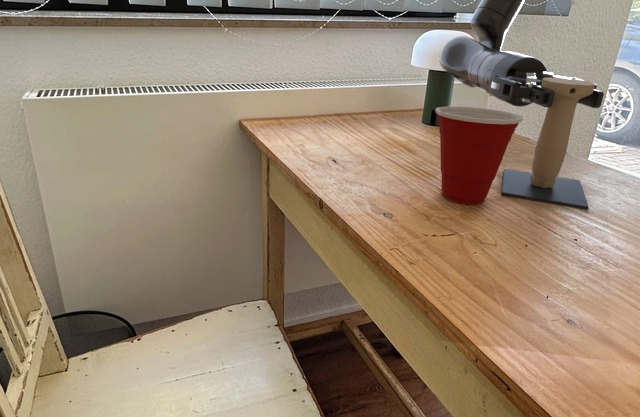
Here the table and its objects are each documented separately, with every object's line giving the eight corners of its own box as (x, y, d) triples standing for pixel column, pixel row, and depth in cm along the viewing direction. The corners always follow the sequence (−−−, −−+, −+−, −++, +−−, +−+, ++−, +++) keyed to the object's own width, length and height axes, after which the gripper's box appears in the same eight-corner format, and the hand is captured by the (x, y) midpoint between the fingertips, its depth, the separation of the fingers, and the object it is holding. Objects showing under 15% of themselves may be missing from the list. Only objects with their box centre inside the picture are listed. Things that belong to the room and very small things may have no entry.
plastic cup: (496, 185, 72) (513, 104, 67) (511, 216, 62) (533, 123, 57) (421, 178, 73) (433, 98, 68) (425, 207, 63) (439, 115, 58)
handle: (569, 193, 69) (600, 86, 63) (522, 189, 70) (548, 82, 64) (559, 181, 74) (587, 80, 67) (515, 177, 74) (538, 76, 68)
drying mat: (579, 182, 75) (579, 180, 75) (587, 209, 65) (588, 206, 65) (503, 170, 78) (504, 168, 78) (501, 194, 69) (502, 192, 69)
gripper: (473, 51, 76) (532, 69, 61) (556, 54, 79) (633, 72, 64) (465, 100, 79) (519, 127, 65) (545, 101, 82) (615, 128, 67)
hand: (575, 99), depth 64 cm, fingers open, 6 cm apart
